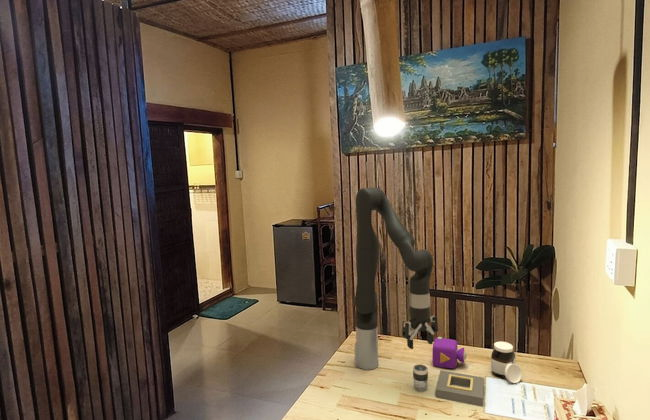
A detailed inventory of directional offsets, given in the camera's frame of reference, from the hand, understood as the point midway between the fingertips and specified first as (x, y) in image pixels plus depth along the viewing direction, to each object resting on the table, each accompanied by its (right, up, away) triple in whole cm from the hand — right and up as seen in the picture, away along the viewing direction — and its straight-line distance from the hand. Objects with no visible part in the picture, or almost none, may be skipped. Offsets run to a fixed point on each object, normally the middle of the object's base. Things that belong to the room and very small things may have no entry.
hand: (420, 345), depth 147 cm
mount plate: (+15, -16, -1) cm, 22 cm away
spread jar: (+36, -15, +8) cm, 40 cm away
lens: (+1, -17, +2) cm, 17 cm away
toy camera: (+17, -14, +19) cm, 29 cm away
